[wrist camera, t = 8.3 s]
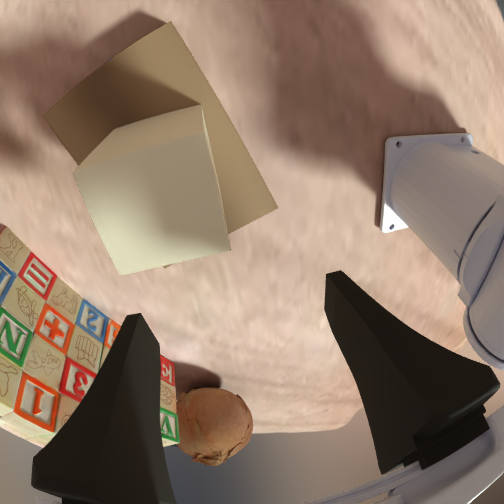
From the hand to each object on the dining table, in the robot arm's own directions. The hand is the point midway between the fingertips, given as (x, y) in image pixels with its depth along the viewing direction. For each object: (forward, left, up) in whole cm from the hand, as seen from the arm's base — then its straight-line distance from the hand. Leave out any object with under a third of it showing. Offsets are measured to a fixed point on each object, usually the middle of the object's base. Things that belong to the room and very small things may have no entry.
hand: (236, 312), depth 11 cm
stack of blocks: (+15, +8, -10) cm, 20 cm away
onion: (+7, +24, -10) cm, 27 cm away
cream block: (+2, -4, -7) cm, 9 cm away
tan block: (+2, -4, -10) cm, 11 cm away
